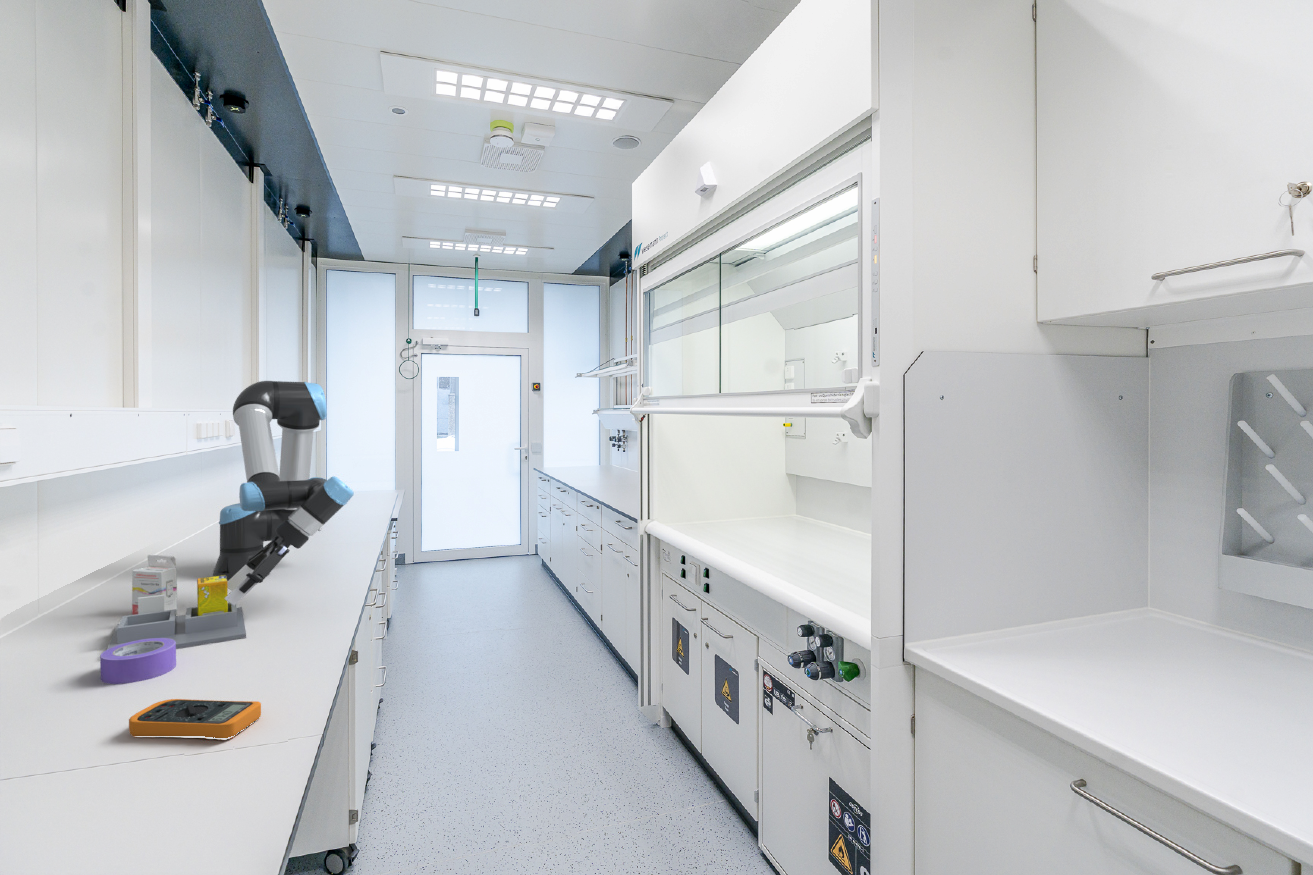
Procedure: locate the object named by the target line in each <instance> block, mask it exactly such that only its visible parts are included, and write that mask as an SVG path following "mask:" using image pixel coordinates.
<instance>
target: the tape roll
mask: <svg viewBox="0 0 1313 875" xmlns="http://www.w3.org/2000/svg"><path fill="white" fill-rule="evenodd" d="M176 651H177V649H176V642H175V641H174V640H173V639H169V638H151V639H143V640H137V641H132V642H128V643H124V644H120V645H117V646H114V647H112V648H109V649H105V650H104V651H103V652H101V654H100V655H99V657H100V658H99V661H100V662H99V664H100V665H99V666H100V680H101V682H102V683H105V684H110V685H120V684H121V685H123V684H132V683H139V682H144V681H148V680H152V679H155V678H158V677H161V676H163V675H166V674H167V673H170V672H172V670H174V669H175V668H176V666H177V652H176Z"/></svg>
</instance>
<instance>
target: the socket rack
mask: <svg viewBox="0 0 1313 875" xmlns="http://www.w3.org/2000/svg"><path fill="white" fill-rule="evenodd" d="M244 618H245V617H244V611H243V607H242V606H240V607H237V604H236V605H235V606H234V605H233V604H231V603H230V602H228V612H225V613H218V614H210V615H203V616H198V605H197V606H191V607H186V609H185V614H180V615H177V611H176V609H174V610H167V611H165V595H156V596H148V597H139V598H138V614H136V615H132V614H131V615H129V614H128V615H122V617H121V618H120V621H119V623H117V625H116V627H115V629H114V631H113V634H112V637H111V639H110V641H109V643H108V645H107V649H109V648H112V647H114V646H117V645H120V644H124V643H128V642H132V641H137V640H143V639H151V638H169V639H173V640H174V641H175V642H176V650H178V649H184V648H189V647H197V646H202V645H204V646H205V645H209V644H210V645H211V644H215V643H221V642H220V641H223V642H229V641H235V640H240V639H239V638H242V639H247V630H246V625H245V619H244ZM107 649H106V650H107Z"/></svg>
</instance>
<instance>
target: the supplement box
mask: <svg viewBox="0 0 1313 875" xmlns="http://www.w3.org/2000/svg"><path fill="white" fill-rule="evenodd" d="M196 587H197V588H196V589H197V590H196V592H197V597H196V598H197V606H198V616H203V615H210V614H218V613H225V612H228V601H227V600H225V597H226V596H227V595H228V594H229V592H228V591H229V589H228V581H227V578H226V575H223V576H215V577H213V576H208V577H199V578H197V580H196Z"/></svg>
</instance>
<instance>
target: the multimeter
mask: <svg viewBox="0 0 1313 875" xmlns="http://www.w3.org/2000/svg"><path fill="white" fill-rule="evenodd" d="M261 716H262V702H260V701H253V700H252V701H248V700H247V701H245V700H244V701H243V700H214V699H213V700H207V699H205V700H204V699H189V698H188V699H186V698H171V699H165V700H162V701H161V700H160V701H157V702H155V703H152V704H151V705H149V706H147V707H144V708H143V709H142V710H140V711H137V712H136V713H135V714H133V715H132V716H131V717H129V718H128V731H129V734H130V735H131V737H133V736H205V737H213V738H214V737H215V738H228V737H231V736H234V735H236V734H237V733H238V732H240V731H241V730H243V729H245V728H246V727H247V726H249V725H250V724H251V723H253V722H254V721H256V720H257V719H258V720H259V719H260V718H261ZM259 717H260V718H259ZM258 720H257V721H258ZM257 721H256V722H257ZM254 723H255V722H254ZM254 723H253V724H254ZM250 726H251V725H250ZM250 726H249V727H250ZM246 729H247V728H246ZM246 729H245V730H246ZM243 731H244V730H243ZM236 736H237V735H236Z"/></svg>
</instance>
